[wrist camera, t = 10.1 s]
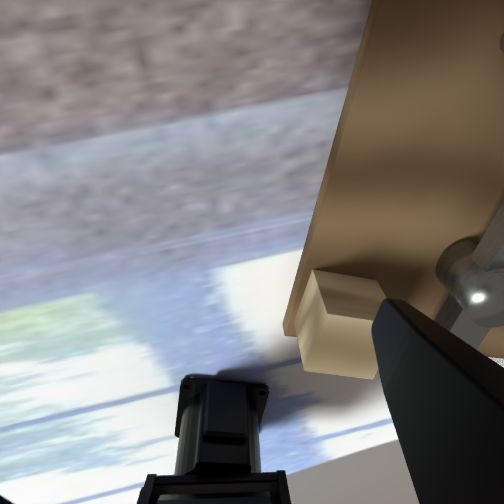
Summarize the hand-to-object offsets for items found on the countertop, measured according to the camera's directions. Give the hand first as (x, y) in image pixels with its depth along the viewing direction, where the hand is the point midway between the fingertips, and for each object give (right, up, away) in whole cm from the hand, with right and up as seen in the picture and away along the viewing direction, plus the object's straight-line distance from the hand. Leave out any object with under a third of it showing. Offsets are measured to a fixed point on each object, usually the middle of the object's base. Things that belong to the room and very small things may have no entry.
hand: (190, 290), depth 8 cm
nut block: (+6, -2, +15) cm, 16 cm away
